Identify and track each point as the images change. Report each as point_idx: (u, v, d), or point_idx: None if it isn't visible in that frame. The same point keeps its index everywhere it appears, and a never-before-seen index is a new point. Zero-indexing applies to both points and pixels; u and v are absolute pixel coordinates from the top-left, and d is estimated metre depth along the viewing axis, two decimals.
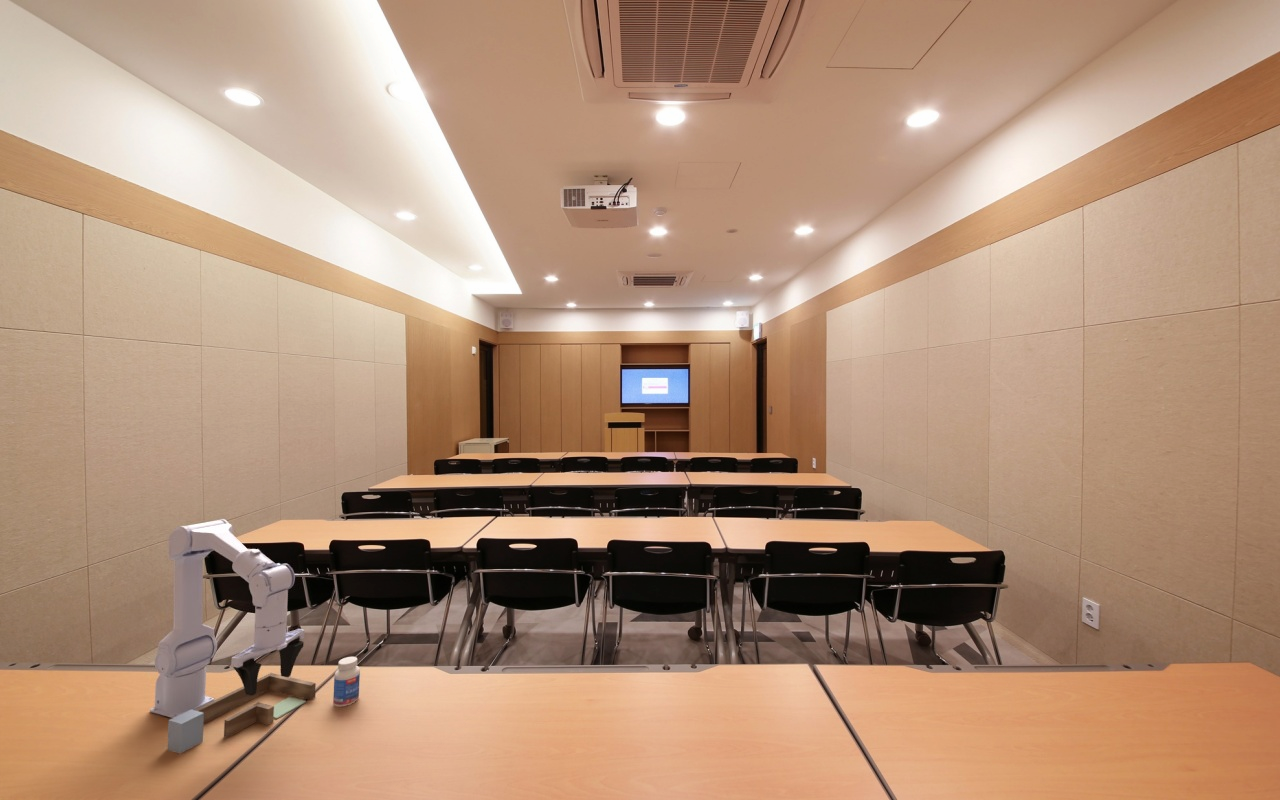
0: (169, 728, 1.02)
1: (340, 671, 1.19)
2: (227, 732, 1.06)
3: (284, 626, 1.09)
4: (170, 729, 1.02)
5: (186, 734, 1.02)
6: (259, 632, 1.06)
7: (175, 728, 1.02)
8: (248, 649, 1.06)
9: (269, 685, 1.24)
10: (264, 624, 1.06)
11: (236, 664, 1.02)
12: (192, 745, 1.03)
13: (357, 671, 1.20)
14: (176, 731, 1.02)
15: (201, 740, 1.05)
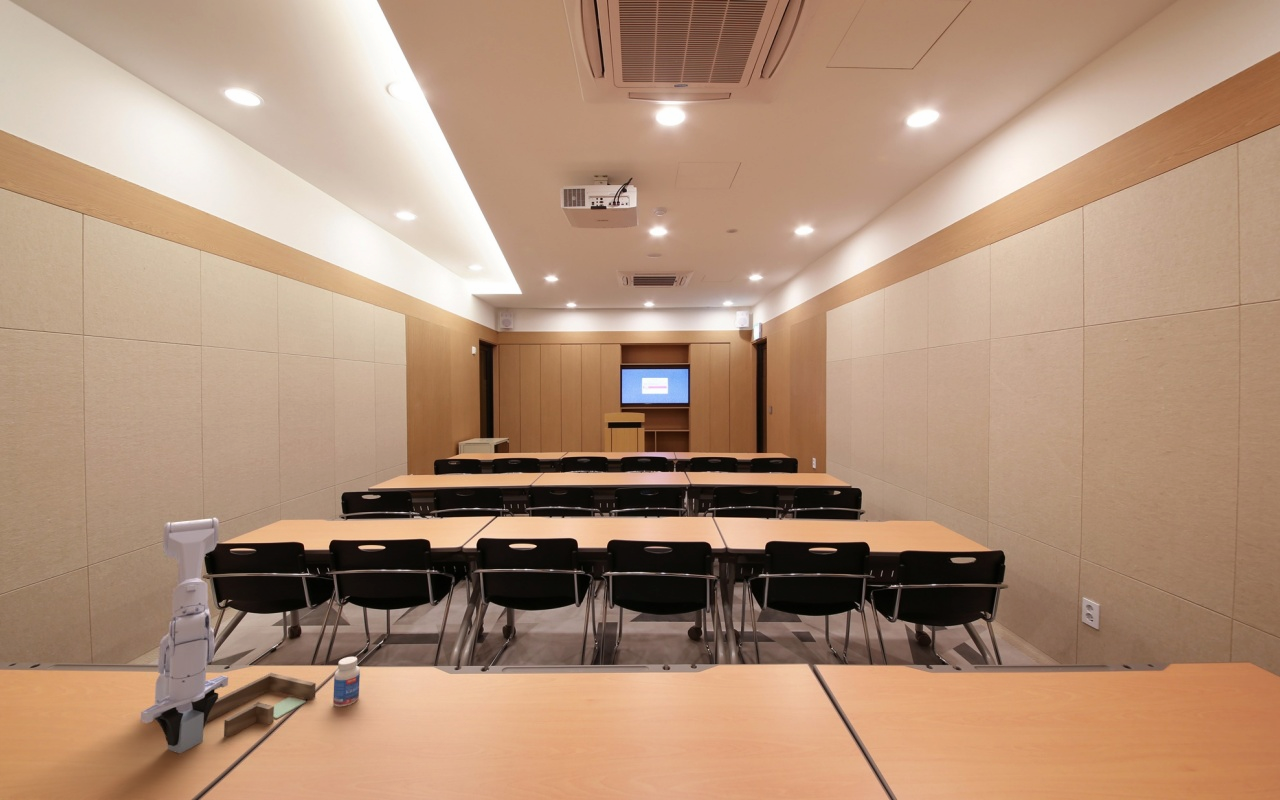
0: None
1: (340, 671, 1.19)
2: (227, 732, 1.06)
3: (202, 675, 1.04)
4: None
5: (186, 734, 1.02)
6: (173, 683, 1.01)
7: None
8: (162, 701, 1.01)
9: (269, 685, 1.24)
10: (172, 675, 1.01)
11: (145, 719, 0.97)
12: (192, 745, 1.03)
13: (357, 671, 1.20)
14: None
15: (201, 740, 1.05)
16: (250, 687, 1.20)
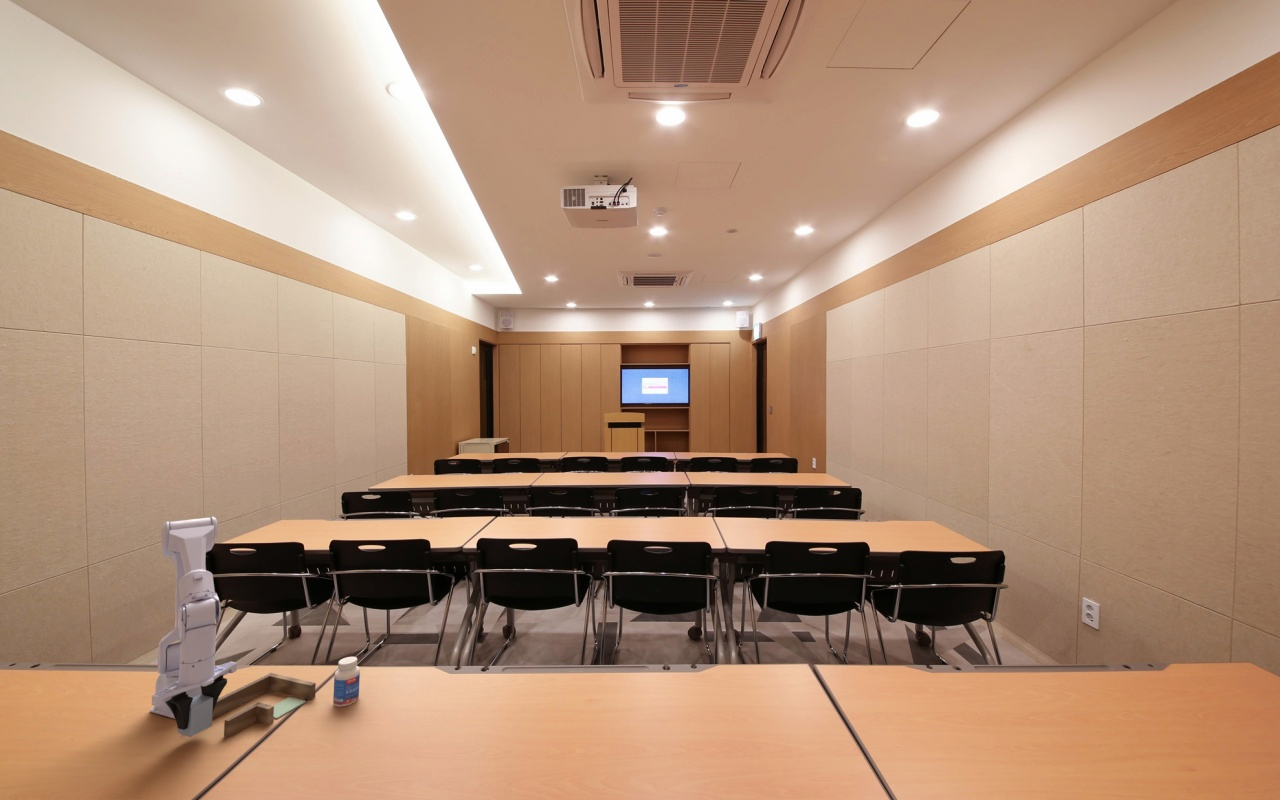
0: None
1: (340, 671, 1.19)
2: (227, 732, 1.06)
3: (211, 661, 1.06)
4: None
5: (196, 719, 1.04)
6: (183, 668, 1.03)
7: None
8: (172, 686, 1.03)
9: (269, 685, 1.24)
10: (183, 660, 1.03)
11: (156, 703, 0.98)
12: (202, 729, 1.05)
13: (357, 671, 1.20)
14: None
15: (210, 724, 1.06)
16: (250, 687, 1.20)
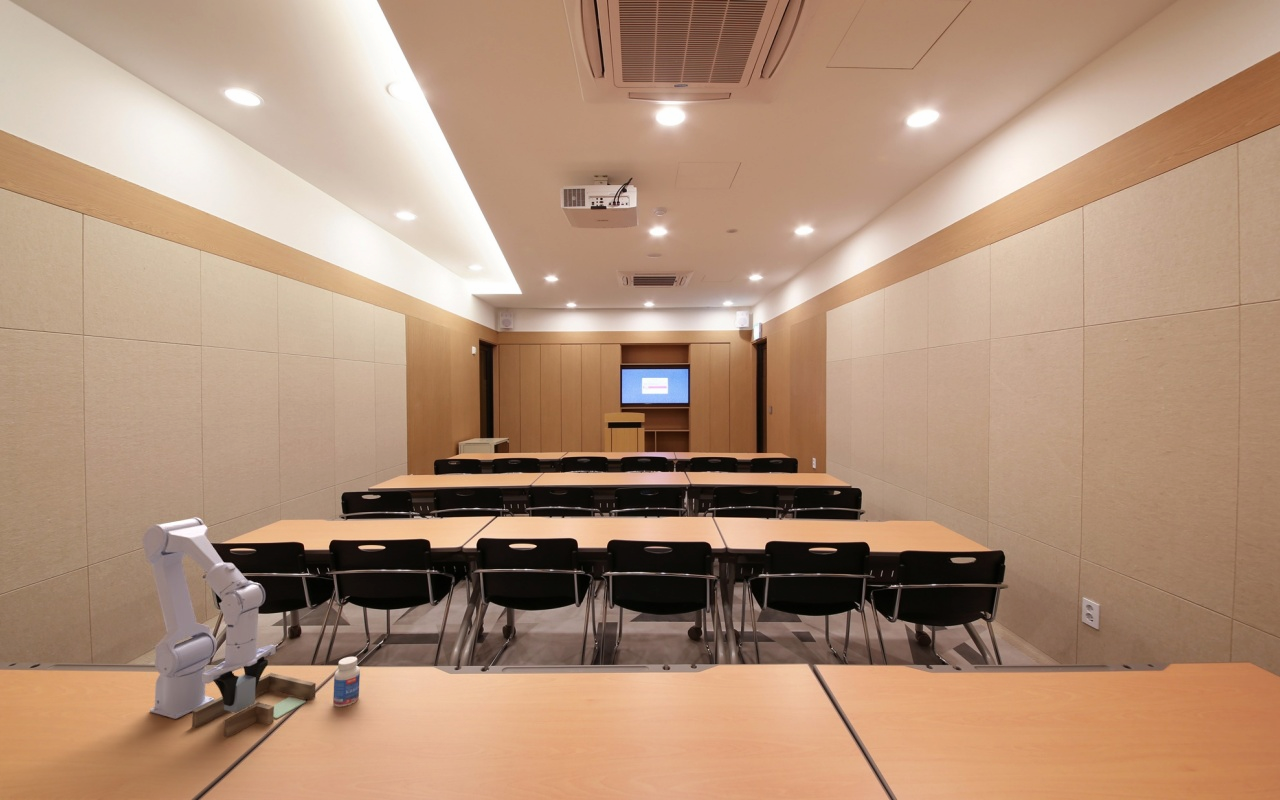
0: None
1: (340, 671, 1.19)
2: (227, 732, 1.06)
3: (254, 643, 1.14)
4: None
5: (241, 696, 1.12)
6: (230, 649, 1.11)
7: None
8: (219, 665, 1.11)
9: (269, 685, 1.24)
10: (236, 641, 1.11)
11: (206, 680, 1.07)
12: (246, 706, 1.13)
13: (357, 671, 1.20)
14: None
15: (253, 702, 1.15)
16: None
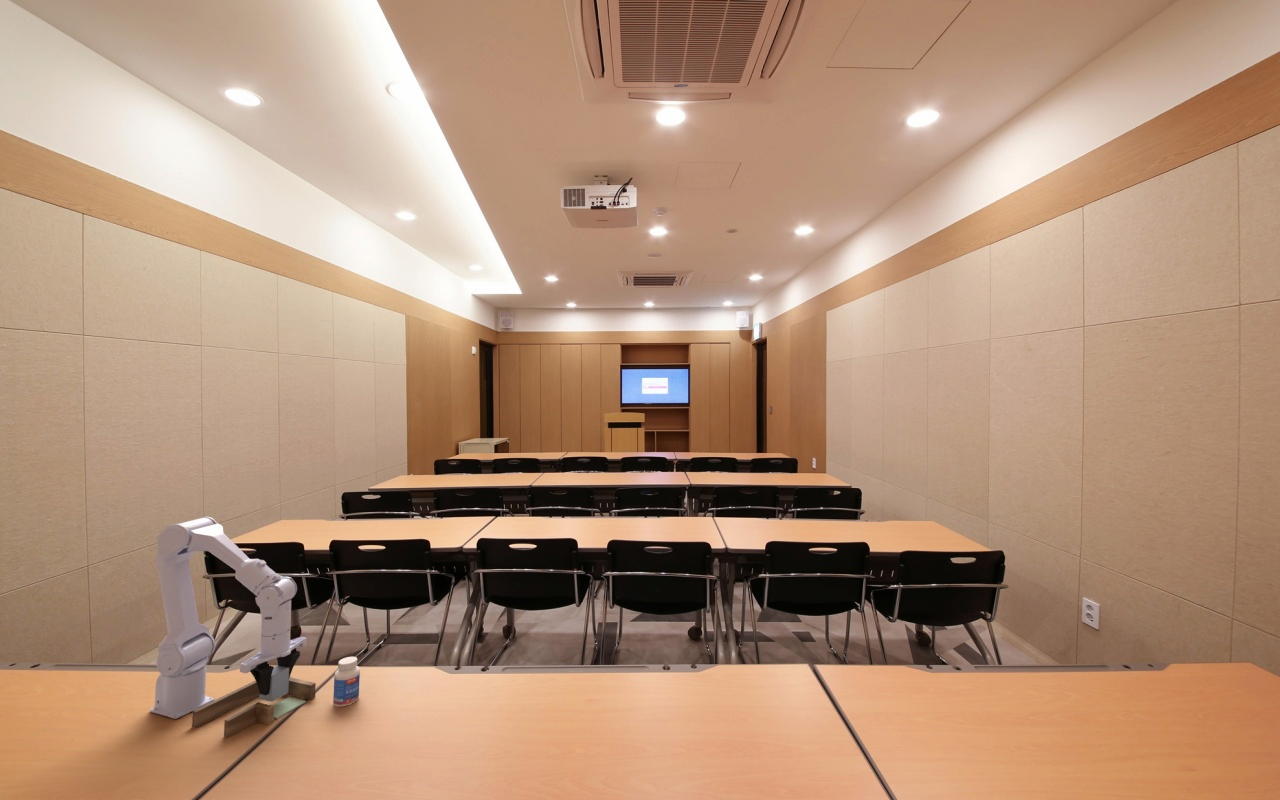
0: None
1: (340, 671, 1.19)
2: (227, 732, 1.06)
3: (288, 635, 1.19)
4: None
5: (276, 686, 1.16)
6: (265, 640, 1.16)
7: None
8: (255, 656, 1.16)
9: None
10: (275, 632, 1.16)
11: (244, 670, 1.11)
12: (280, 695, 1.17)
13: (357, 671, 1.20)
14: None
15: (287, 691, 1.19)
16: (250, 687, 1.20)
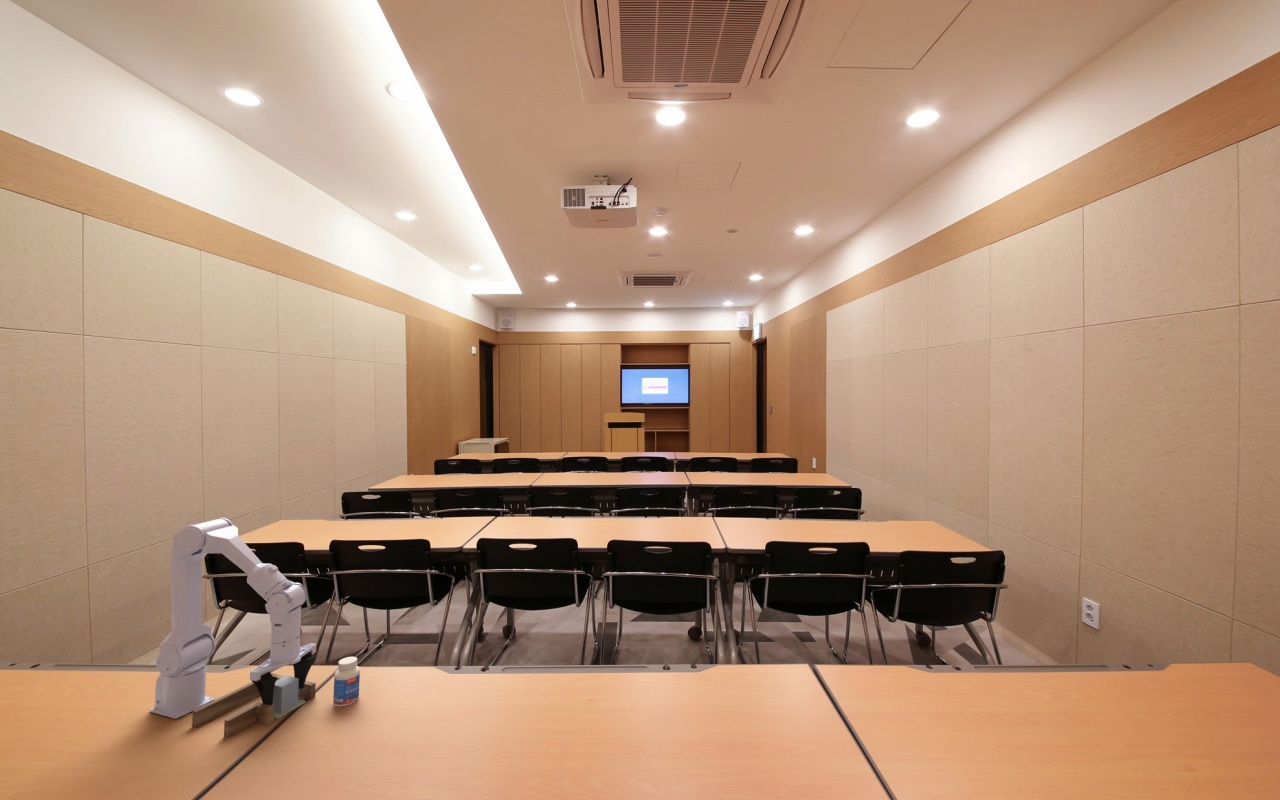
0: None
1: (340, 671, 1.19)
2: (227, 732, 1.06)
3: (298, 641, 1.18)
4: None
5: (285, 697, 1.15)
6: (275, 647, 1.15)
7: (276, 690, 1.15)
8: (265, 663, 1.15)
9: None
10: (284, 639, 1.15)
11: (254, 678, 1.10)
12: (290, 706, 1.16)
13: (357, 671, 1.20)
14: (277, 694, 1.15)
15: (296, 702, 1.18)
16: (250, 687, 1.20)
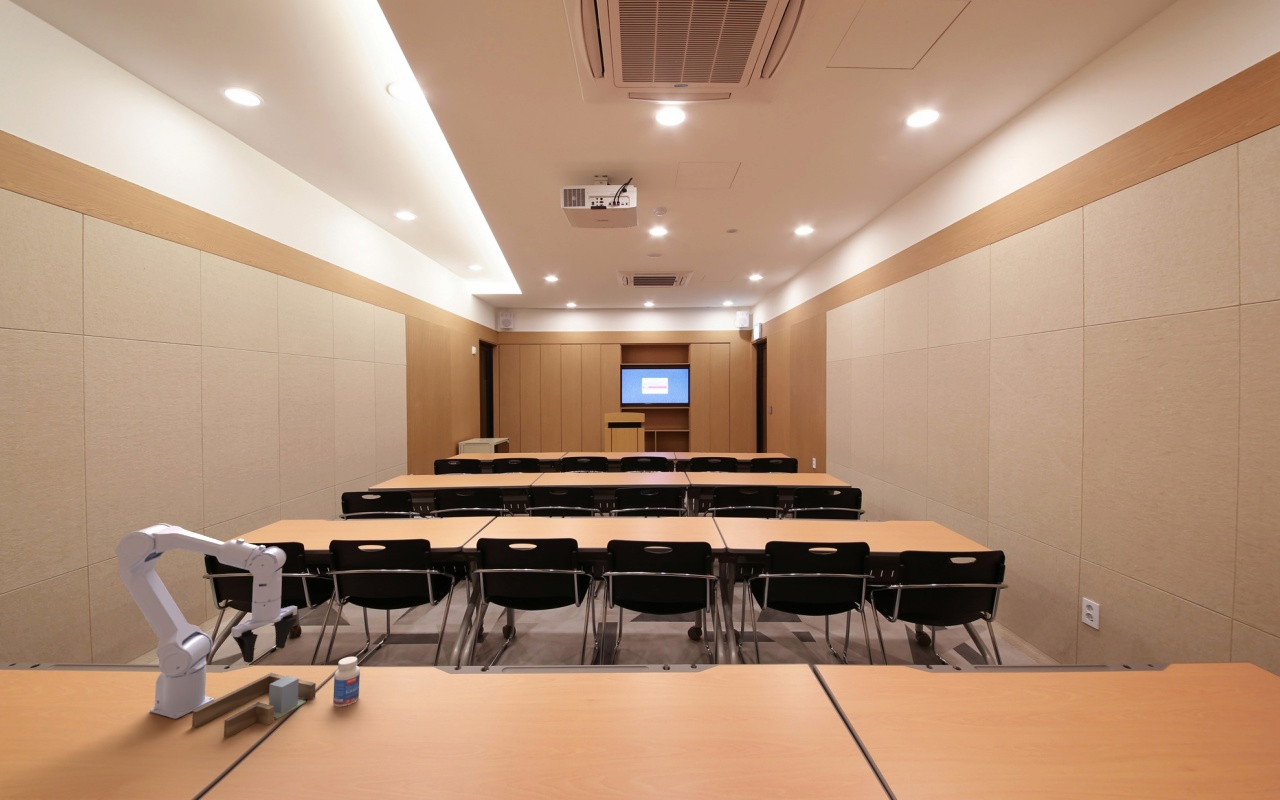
0: (270, 691, 1.16)
1: (340, 671, 1.19)
2: (227, 732, 1.06)
3: (278, 602, 1.23)
4: (271, 692, 1.15)
5: (285, 697, 1.15)
6: (256, 607, 1.19)
7: (276, 690, 1.15)
8: (246, 622, 1.19)
9: (269, 685, 1.24)
10: (269, 598, 1.20)
11: (235, 634, 1.15)
12: (290, 706, 1.16)
13: (357, 671, 1.20)
14: (277, 694, 1.15)
15: (296, 702, 1.18)
16: (250, 687, 1.20)
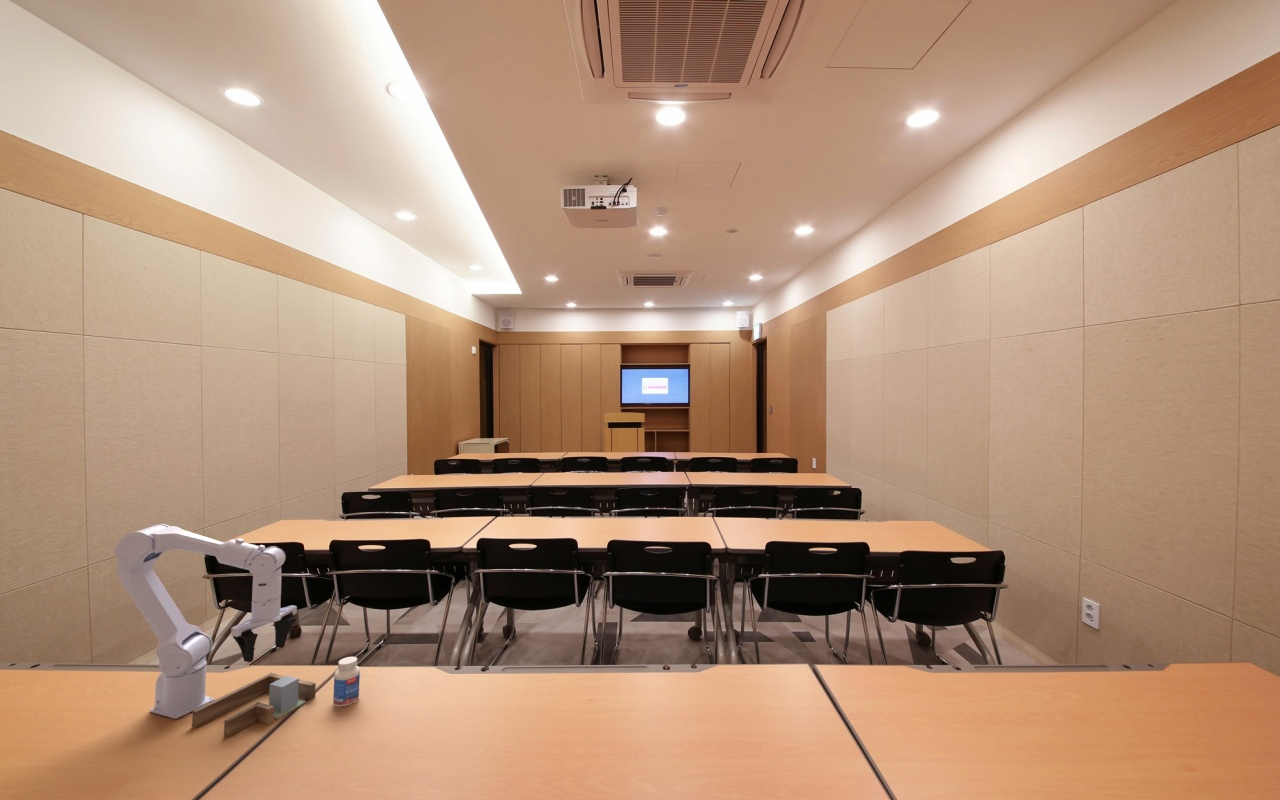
0: (270, 691, 1.16)
1: (340, 671, 1.19)
2: (227, 732, 1.06)
3: (278, 601, 1.23)
4: (271, 692, 1.15)
5: (285, 697, 1.15)
6: (256, 606, 1.20)
7: (276, 690, 1.15)
8: (246, 621, 1.20)
9: (269, 685, 1.24)
10: (269, 598, 1.21)
11: (235, 633, 1.15)
12: (290, 706, 1.16)
13: (357, 671, 1.20)
14: (277, 694, 1.15)
15: (296, 702, 1.18)
16: (250, 687, 1.20)
